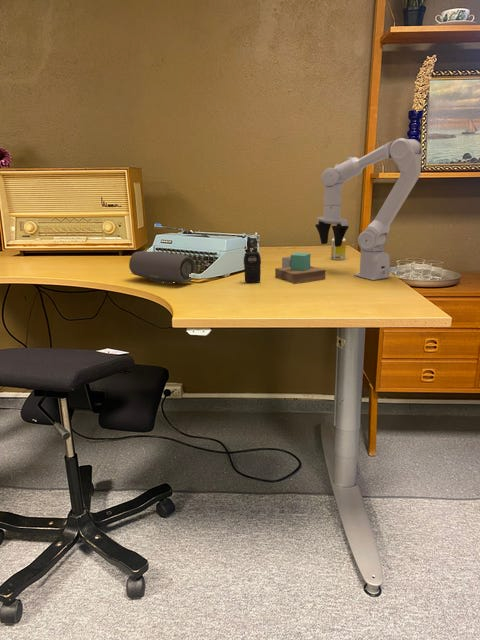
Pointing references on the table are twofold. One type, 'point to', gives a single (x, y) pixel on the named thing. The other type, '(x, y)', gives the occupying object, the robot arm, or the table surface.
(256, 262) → the two-way radio
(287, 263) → the steel cube
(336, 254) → the supplement bottle
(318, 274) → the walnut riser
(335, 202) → the robot arm
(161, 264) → the bluetooth speaker
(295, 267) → the teal cube
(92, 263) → the table surface
